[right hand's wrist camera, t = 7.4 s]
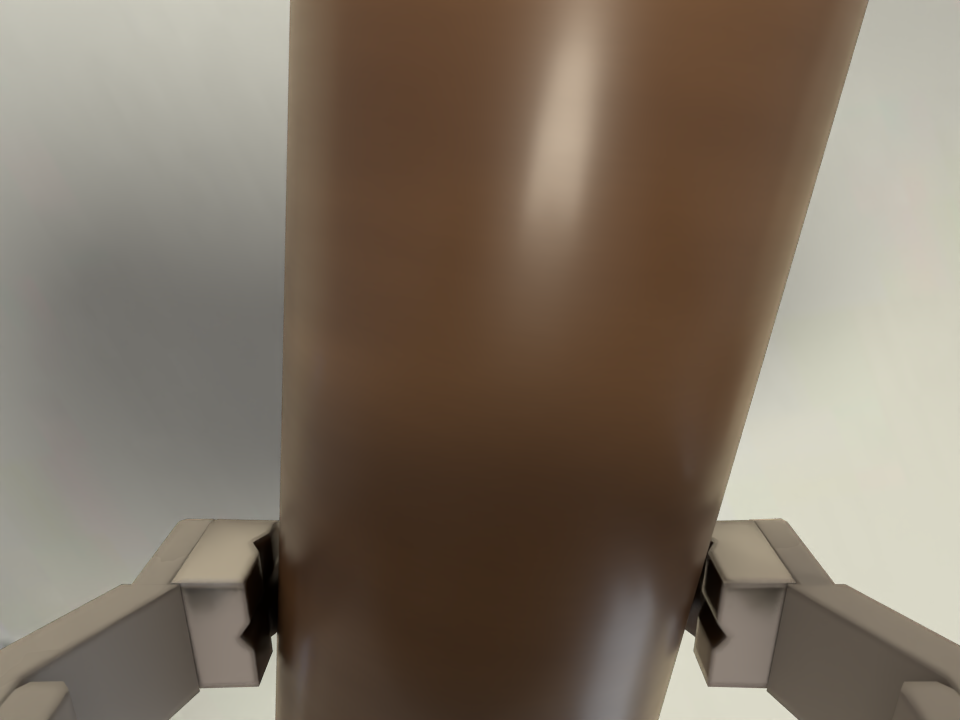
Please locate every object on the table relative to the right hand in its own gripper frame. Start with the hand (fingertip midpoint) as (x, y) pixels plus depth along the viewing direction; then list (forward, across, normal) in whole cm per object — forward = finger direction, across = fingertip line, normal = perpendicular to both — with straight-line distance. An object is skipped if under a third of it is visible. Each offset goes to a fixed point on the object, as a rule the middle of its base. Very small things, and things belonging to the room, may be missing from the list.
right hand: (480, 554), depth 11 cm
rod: (+3, -1, -8) cm, 8 cm away
